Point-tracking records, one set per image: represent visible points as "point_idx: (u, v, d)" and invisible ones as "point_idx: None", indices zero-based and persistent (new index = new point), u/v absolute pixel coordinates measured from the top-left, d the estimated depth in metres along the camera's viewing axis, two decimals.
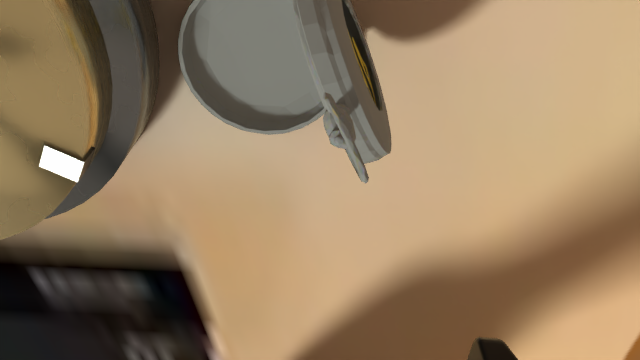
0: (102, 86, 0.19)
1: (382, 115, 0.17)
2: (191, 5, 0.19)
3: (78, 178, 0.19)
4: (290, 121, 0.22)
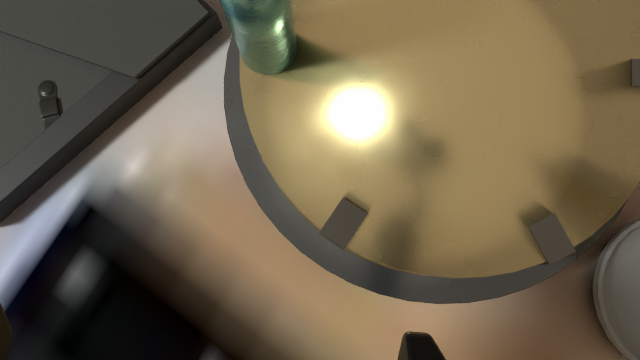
0: None
1: None
2: None
3: (553, 262, 0.17)
4: None
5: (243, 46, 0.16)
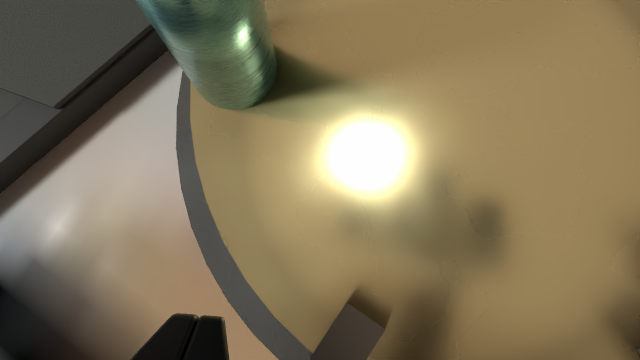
0: None
1: None
2: None
3: None
4: None
5: (186, 69, 0.10)
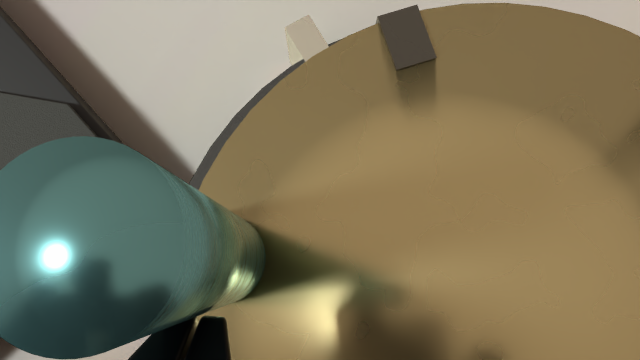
0: None
1: None
2: None
3: None
4: None
5: None
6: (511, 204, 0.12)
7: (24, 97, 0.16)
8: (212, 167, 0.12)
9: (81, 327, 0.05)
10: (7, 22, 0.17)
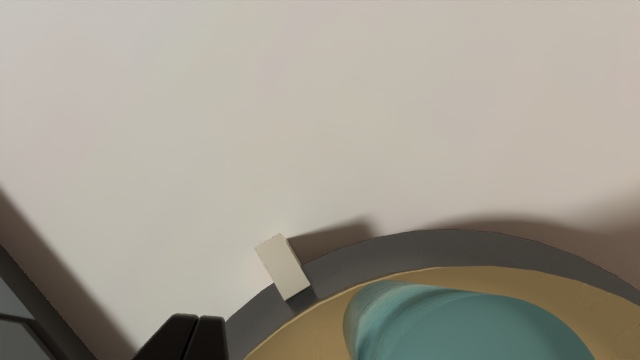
0: None
1: None
2: None
3: None
4: None
5: (348, 326, 0.09)
6: None
7: None
8: (462, 268, 0.12)
9: None
10: None
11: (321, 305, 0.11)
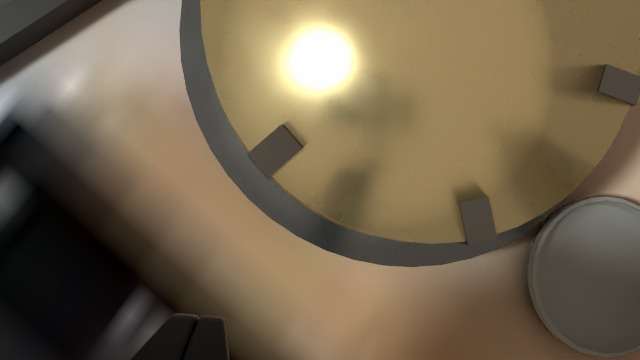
0: (321, 215, 0.18)
1: None
2: (594, 198, 0.22)
3: (251, 157, 0.16)
4: (577, 343, 0.22)
5: None
6: None
7: None
8: None
9: None
10: None
11: None
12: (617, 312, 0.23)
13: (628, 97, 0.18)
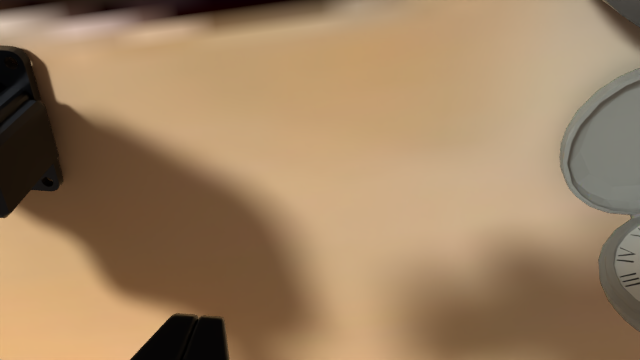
0: None
1: None
2: None
3: None
4: (566, 161, 0.21)
5: None
6: None
7: None
8: None
9: None
10: None
11: None
12: (614, 174, 0.22)
13: None
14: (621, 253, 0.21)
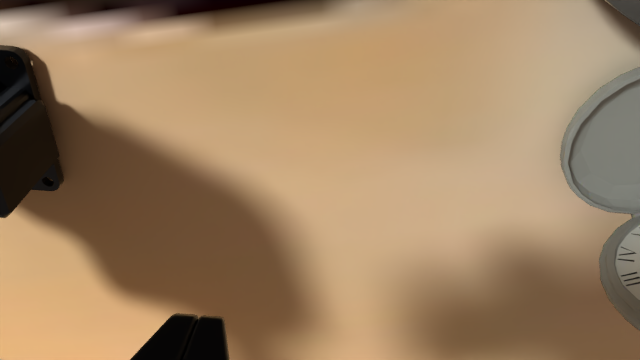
0: None
1: None
2: None
3: None
4: (567, 160, 0.21)
5: None
6: None
7: None
8: None
9: None
10: None
11: None
12: (614, 173, 0.22)
13: None
14: (622, 252, 0.21)
